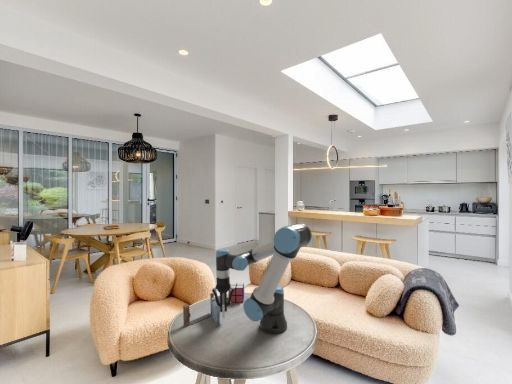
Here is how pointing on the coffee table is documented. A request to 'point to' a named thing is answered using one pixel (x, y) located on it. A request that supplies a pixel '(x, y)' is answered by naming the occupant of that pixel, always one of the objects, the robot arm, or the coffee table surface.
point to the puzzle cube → (237, 292)
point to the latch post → (186, 315)
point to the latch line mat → (200, 319)
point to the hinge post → (212, 297)
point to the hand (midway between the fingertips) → (223, 317)
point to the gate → (215, 311)
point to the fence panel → (219, 299)
